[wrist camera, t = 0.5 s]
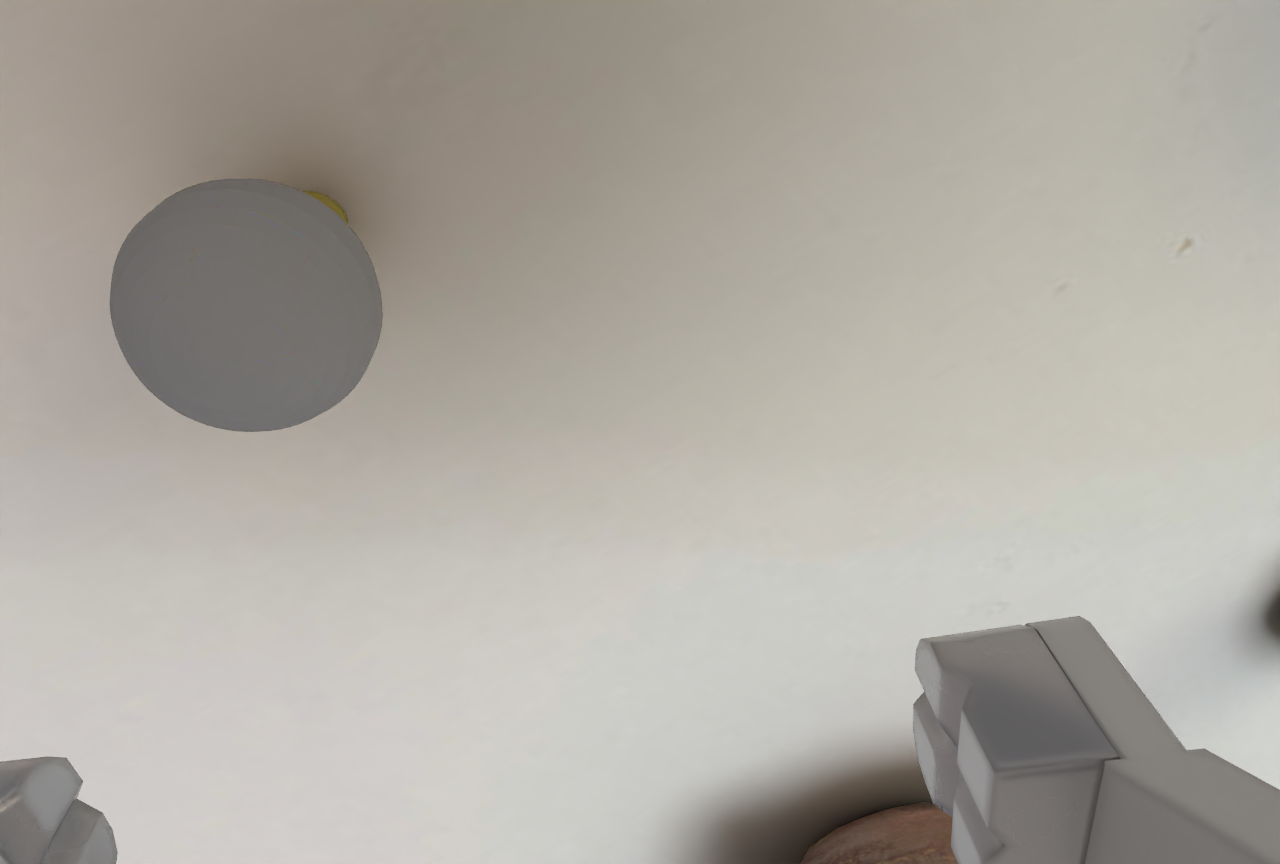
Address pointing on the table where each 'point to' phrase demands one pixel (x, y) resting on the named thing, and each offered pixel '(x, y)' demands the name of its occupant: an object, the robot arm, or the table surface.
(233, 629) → the table surface
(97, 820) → the robot arm
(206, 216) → the light bulb
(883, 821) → the bowl
